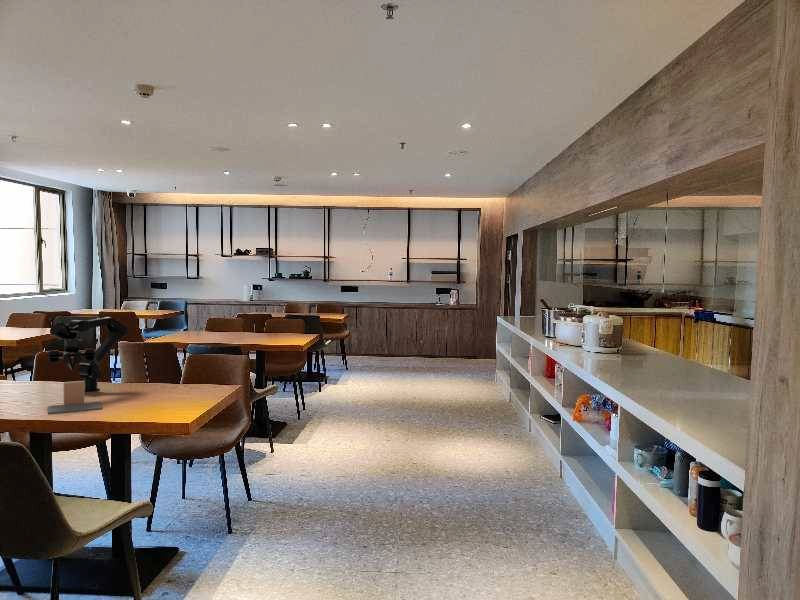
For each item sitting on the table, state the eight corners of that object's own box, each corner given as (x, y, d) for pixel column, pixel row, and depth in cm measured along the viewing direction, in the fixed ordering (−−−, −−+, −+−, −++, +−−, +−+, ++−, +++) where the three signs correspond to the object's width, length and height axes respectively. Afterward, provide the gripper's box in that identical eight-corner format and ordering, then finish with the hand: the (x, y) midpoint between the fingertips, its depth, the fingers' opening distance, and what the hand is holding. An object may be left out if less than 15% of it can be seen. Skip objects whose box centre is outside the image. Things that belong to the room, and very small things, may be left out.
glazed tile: (63, 404, 255) (63, 382, 255) (84, 402, 259) (84, 380, 259) (63, 405, 253) (63, 383, 252) (84, 403, 257) (84, 381, 257)
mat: (47, 407, 248) (47, 406, 248) (99, 403, 259) (99, 401, 259) (47, 414, 237) (47, 412, 237) (102, 409, 248) (102, 407, 248)
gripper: (48, 333, 264) (49, 360, 255) (94, 331, 274) (96, 357, 265) (48, 348, 271) (48, 375, 262) (93, 346, 281) (95, 372, 272)
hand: (72, 369), depth 265 cm, fingers closed
